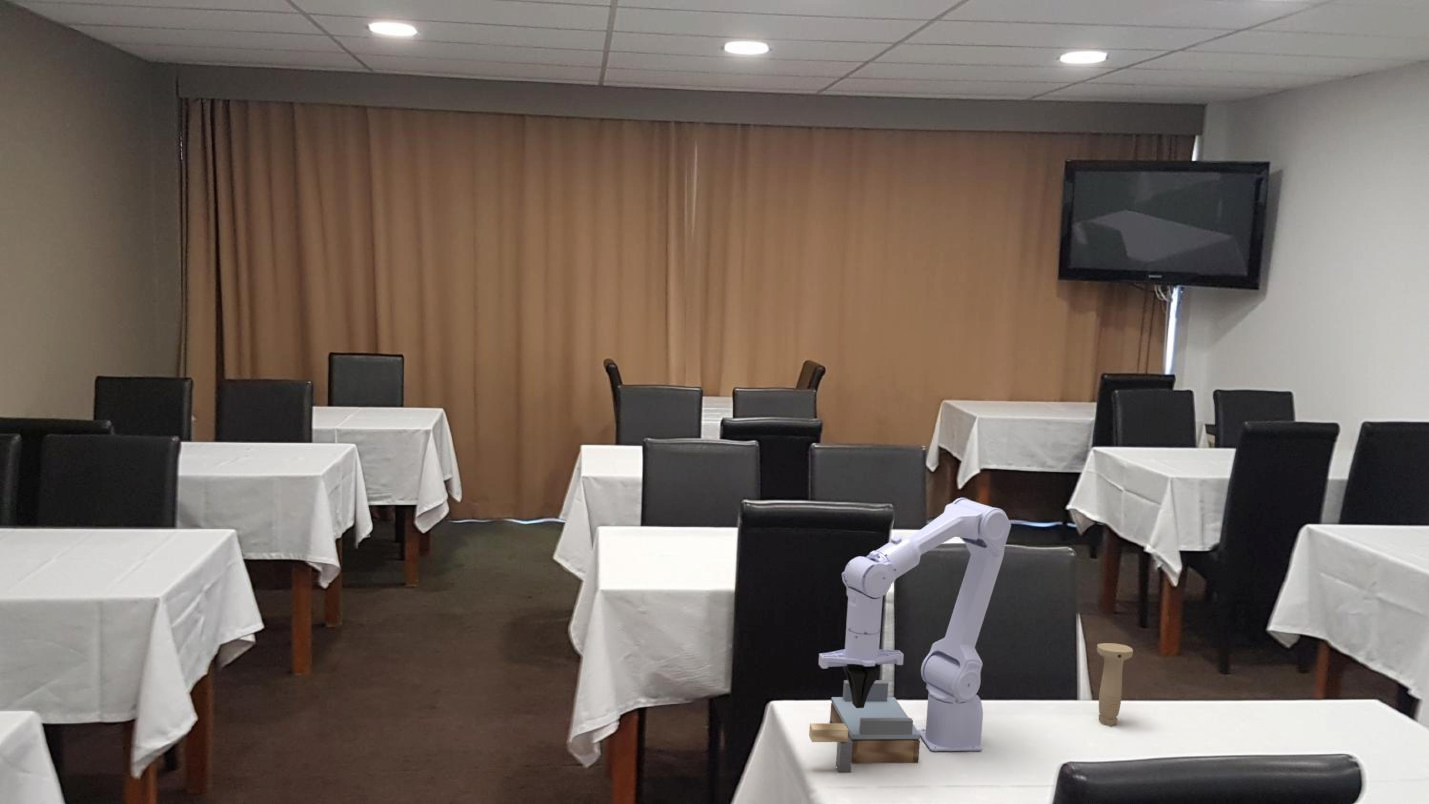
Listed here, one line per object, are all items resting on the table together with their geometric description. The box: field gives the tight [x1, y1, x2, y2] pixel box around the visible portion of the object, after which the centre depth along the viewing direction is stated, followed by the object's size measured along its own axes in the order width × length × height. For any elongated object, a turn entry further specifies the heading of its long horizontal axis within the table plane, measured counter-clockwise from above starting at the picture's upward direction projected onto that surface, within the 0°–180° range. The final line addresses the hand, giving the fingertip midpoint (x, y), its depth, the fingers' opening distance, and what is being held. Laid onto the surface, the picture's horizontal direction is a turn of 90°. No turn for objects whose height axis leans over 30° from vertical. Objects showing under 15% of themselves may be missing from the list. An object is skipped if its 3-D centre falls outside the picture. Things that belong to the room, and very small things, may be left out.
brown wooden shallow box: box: [829, 702, 921, 764], centre depth 193 cm, size 12×16×4 cm
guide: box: [835, 737, 853, 774], centre depth 182 cm, size 2×2×5 cm
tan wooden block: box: [808, 722, 848, 743], centre depth 181 cm, size 6×2×2 cm, turn 97°
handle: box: [1096, 642, 1134, 727], centre depth 206 cm, size 5×6×15 cm
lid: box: [830, 679, 921, 740], centre depth 193 cm, size 12×16×4 cm
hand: (858, 705), depth 184 cm, fingers closed
